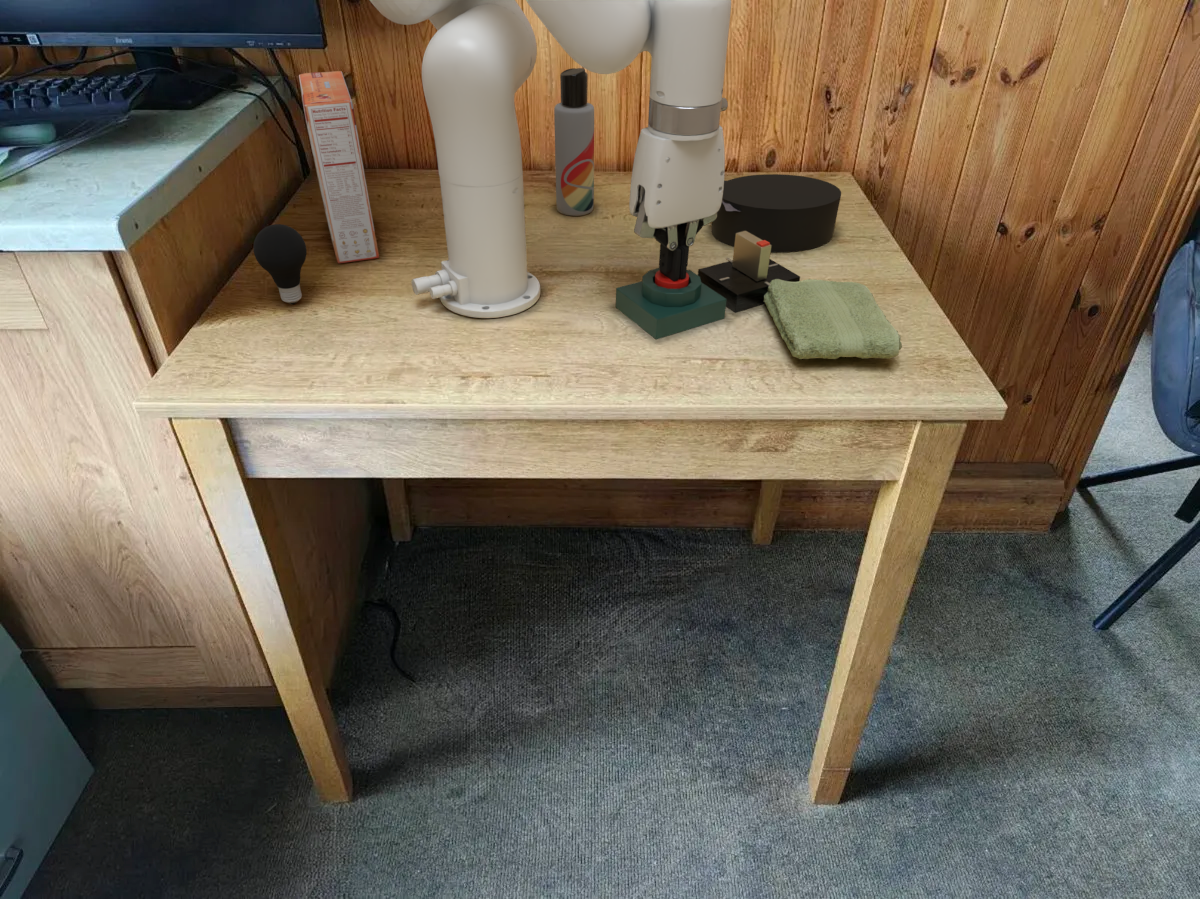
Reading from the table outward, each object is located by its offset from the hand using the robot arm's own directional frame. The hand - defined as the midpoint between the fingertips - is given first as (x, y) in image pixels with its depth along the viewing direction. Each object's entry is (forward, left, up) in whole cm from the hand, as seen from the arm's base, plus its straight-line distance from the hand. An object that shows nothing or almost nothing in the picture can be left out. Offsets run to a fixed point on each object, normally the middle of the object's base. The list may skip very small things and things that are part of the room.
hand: (672, 275), depth 99 cm
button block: (0, 0, -5) cm, 5 cm away
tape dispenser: (+27, +13, -5) cm, 30 cm away
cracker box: (-27, +39, -5) cm, 48 cm away
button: (0, 0, -2) cm, 2 cm away
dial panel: (+12, 0, -5) cm, 13 cm away
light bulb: (-39, +25, -5) cm, 47 cm away
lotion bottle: (+6, +34, -5) cm, 35 cm away
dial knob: (+12, 0, -3) cm, 12 cm away
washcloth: (+13, -13, -4) cm, 19 cm away
